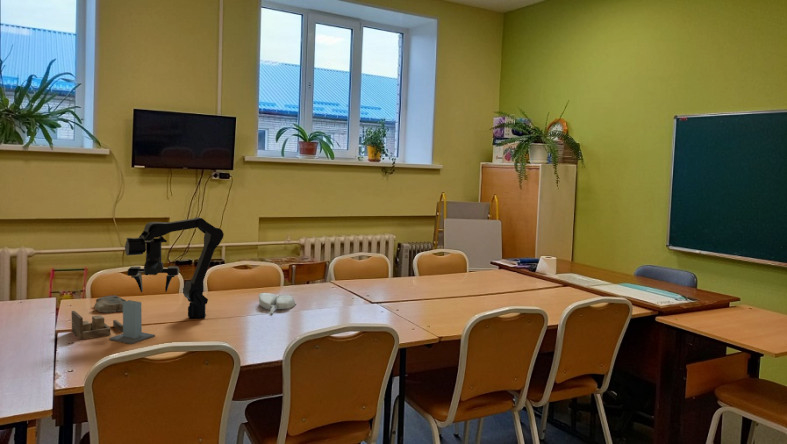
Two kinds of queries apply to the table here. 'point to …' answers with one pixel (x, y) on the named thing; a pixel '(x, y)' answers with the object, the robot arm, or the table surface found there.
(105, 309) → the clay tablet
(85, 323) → the offcut short
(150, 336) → the mat
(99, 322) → the offcut tall
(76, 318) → the rack
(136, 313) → the pale blue wedge-ended prism
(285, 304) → the lung model
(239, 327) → the table surface
